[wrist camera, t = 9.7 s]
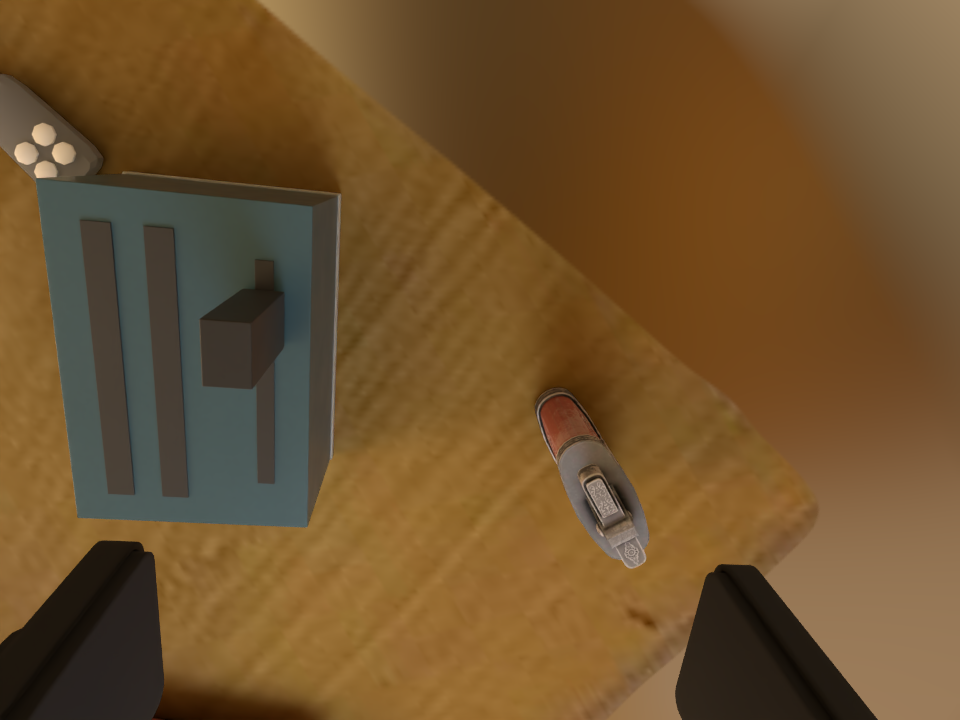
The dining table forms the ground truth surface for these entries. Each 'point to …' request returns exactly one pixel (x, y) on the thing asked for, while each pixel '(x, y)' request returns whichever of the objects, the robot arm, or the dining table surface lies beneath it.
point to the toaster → (190, 345)
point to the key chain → (42, 136)
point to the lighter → (593, 478)
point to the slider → (241, 338)
